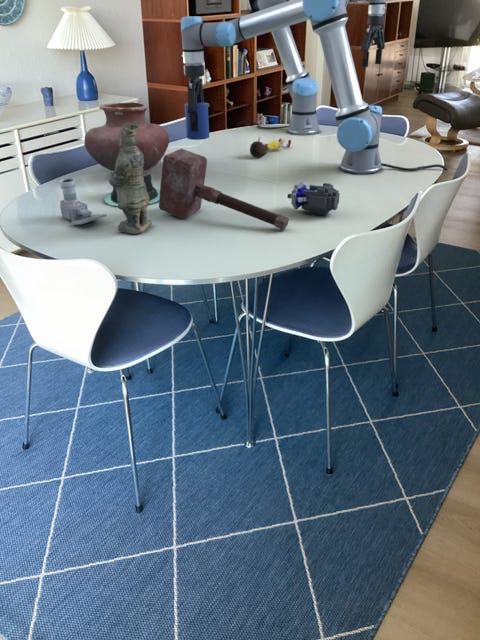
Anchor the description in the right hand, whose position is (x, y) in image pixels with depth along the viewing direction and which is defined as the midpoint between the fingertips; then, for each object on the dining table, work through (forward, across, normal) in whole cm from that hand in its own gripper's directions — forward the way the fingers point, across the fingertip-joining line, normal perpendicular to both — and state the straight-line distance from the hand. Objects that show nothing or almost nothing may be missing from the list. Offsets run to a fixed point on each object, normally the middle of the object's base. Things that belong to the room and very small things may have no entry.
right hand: (197, 128), depth 215 cm
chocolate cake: (+14, +43, -12) cm, 47 cm away
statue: (+14, +71, -3) cm, 73 cm away
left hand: (-13, -83, +67) cm, 108 cm away
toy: (+14, +52, +48) cm, 72 cm away
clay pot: (+14, +14, -24) cm, 31 cm away
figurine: (+14, -22, +26) cm, 37 cm away
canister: (+3, 0, 0) cm, 3 cm away
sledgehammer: (+14, +61, +22) cm, 67 cm away
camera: (+14, +67, -21) cm, 71 cm away
